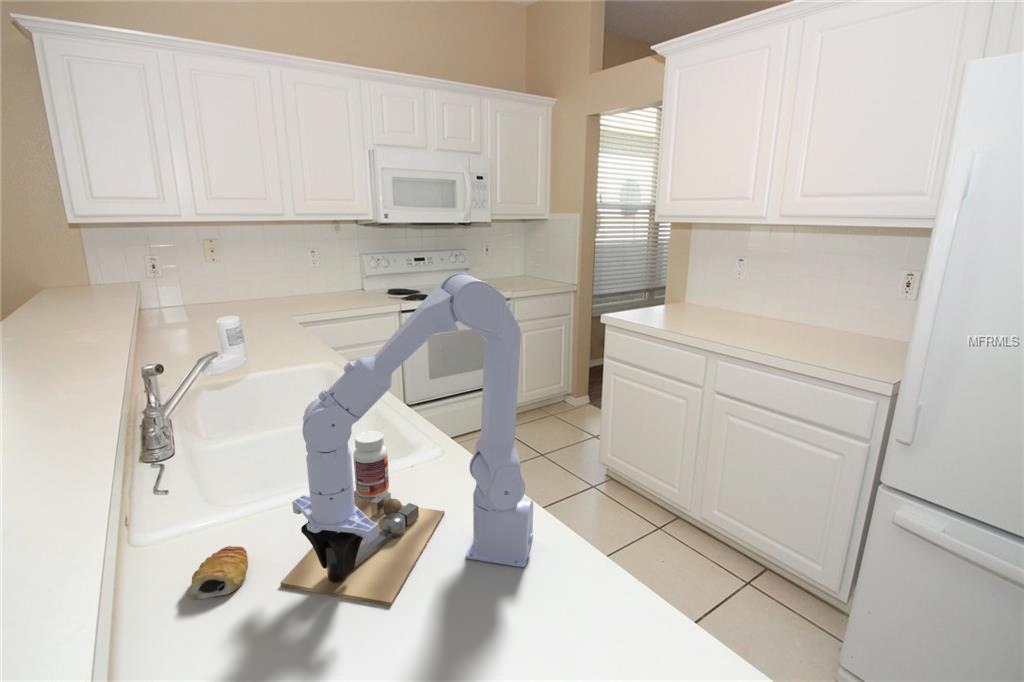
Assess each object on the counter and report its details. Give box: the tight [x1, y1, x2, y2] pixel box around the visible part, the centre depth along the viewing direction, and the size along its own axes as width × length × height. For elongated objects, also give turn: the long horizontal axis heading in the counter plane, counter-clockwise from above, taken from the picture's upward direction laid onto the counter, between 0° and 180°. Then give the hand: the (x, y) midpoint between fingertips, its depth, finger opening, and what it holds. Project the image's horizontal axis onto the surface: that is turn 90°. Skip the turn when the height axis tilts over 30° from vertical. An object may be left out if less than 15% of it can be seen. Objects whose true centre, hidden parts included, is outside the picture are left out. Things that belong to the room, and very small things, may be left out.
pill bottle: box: [353, 430, 390, 499], centre depth 95 cm, size 6×6×11 cm
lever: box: [325, 502, 419, 582], centre depth 79 cm, size 18×4×5 cm, turn 151°
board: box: [280, 498, 445, 607], centre depth 80 cm, size 17×22×1 cm
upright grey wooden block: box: [370, 491, 392, 518], centre depth 88 cm, size 4×1×3 cm, turn 153°
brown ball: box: [383, 498, 403, 516], centre depth 87 cm, size 3×3×3 cm
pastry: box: [187, 545, 249, 600], centre depth 73 cm, size 9×7×4 cm
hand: (338, 568), depth 72 cm, fingers open, 3 cm apart
